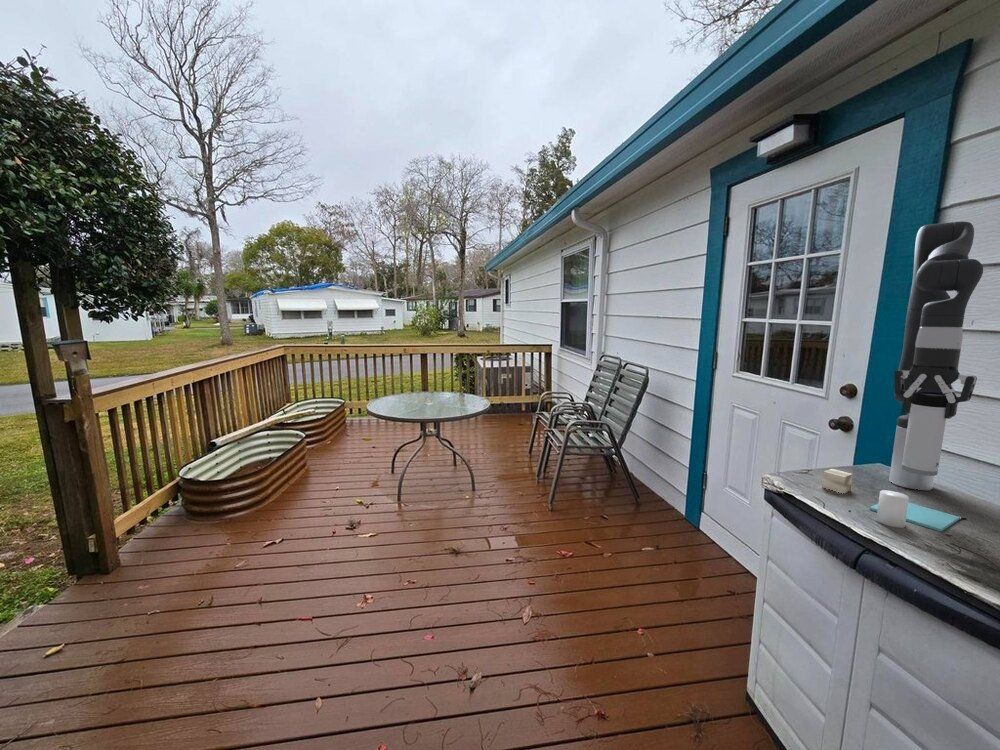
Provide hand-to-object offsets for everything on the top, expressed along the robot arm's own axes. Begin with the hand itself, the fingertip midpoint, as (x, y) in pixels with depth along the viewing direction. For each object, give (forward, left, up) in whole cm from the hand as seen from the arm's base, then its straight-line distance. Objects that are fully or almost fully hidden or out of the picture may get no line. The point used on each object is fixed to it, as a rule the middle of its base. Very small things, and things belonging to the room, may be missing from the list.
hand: (927, 415), depth 101 cm
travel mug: (0, 0, -14) cm, 14 cm away
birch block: (-2, -17, -25) cm, 31 cm away
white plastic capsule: (+11, -1, -25) cm, 28 cm away
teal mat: (0, 0, -25) cm, 25 cm away
